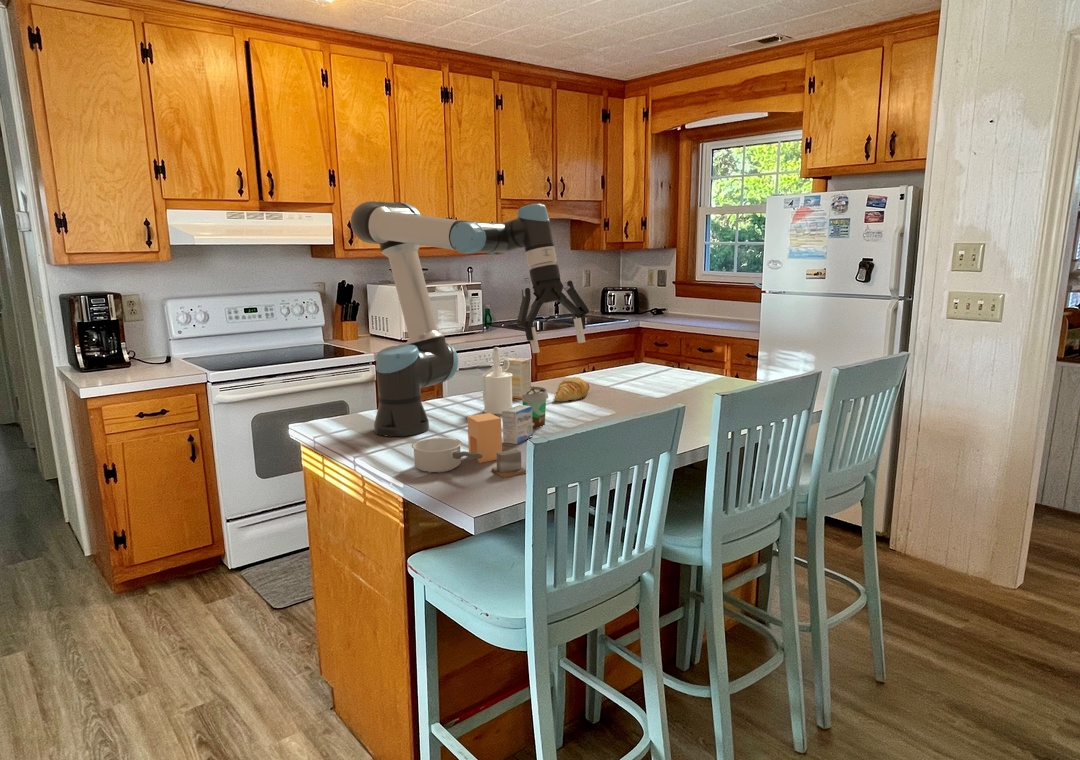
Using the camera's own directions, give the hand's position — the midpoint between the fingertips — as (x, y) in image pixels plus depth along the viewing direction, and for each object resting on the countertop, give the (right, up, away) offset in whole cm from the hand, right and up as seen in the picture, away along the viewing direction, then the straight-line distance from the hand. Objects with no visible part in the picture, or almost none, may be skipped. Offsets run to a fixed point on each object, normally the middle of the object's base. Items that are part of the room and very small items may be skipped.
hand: (559, 347), depth 176 cm
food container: (-6, -21, +19) cm, 29 cm away
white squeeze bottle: (-18, -18, +36) cm, 44 cm away
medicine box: (-11, -24, +4) cm, 27 cm away
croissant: (+6, -14, +54) cm, 56 cm away
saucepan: (-26, -29, -19) cm, 43 cm away
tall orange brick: (-18, -27, -10) cm, 34 cm away
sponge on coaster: (-12, -29, -21) cm, 38 cm away
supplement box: (-12, -14, +56) cm, 59 cm away
